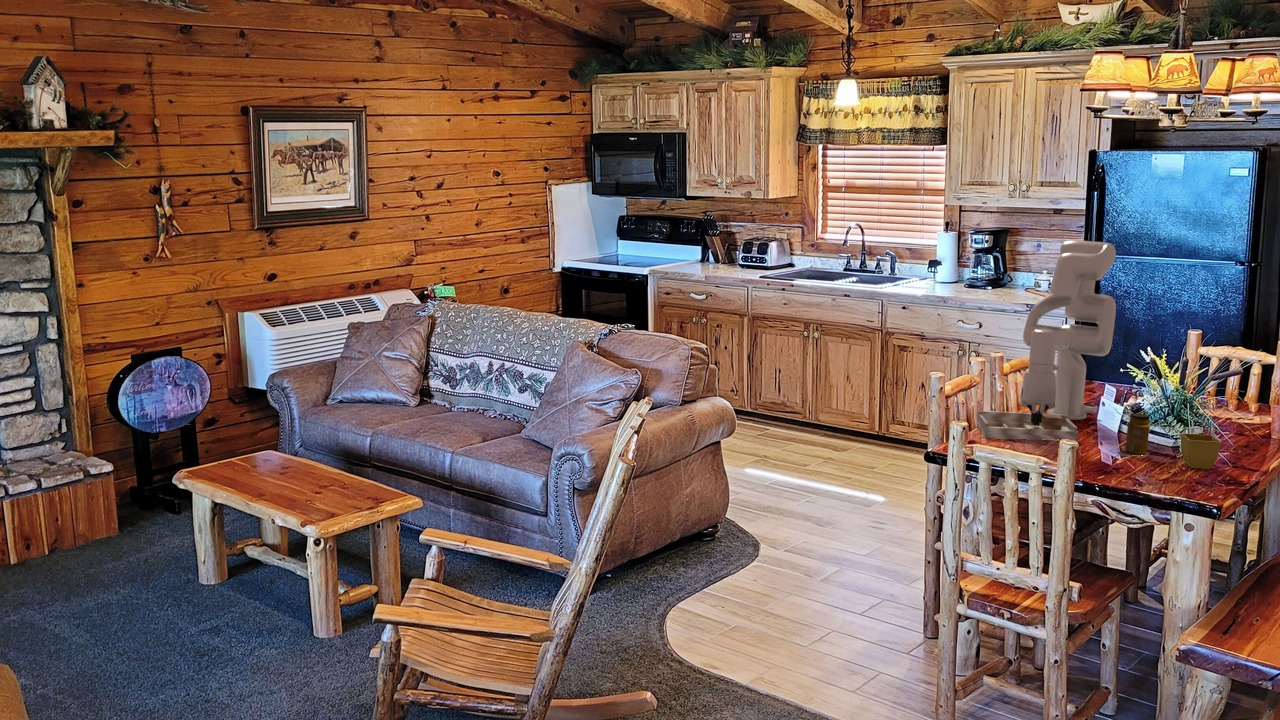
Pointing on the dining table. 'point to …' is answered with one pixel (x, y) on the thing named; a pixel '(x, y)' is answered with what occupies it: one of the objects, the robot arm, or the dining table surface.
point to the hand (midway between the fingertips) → (1035, 424)
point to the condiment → (1137, 435)
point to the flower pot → (1199, 450)
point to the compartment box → (1021, 427)
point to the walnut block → (1051, 422)
